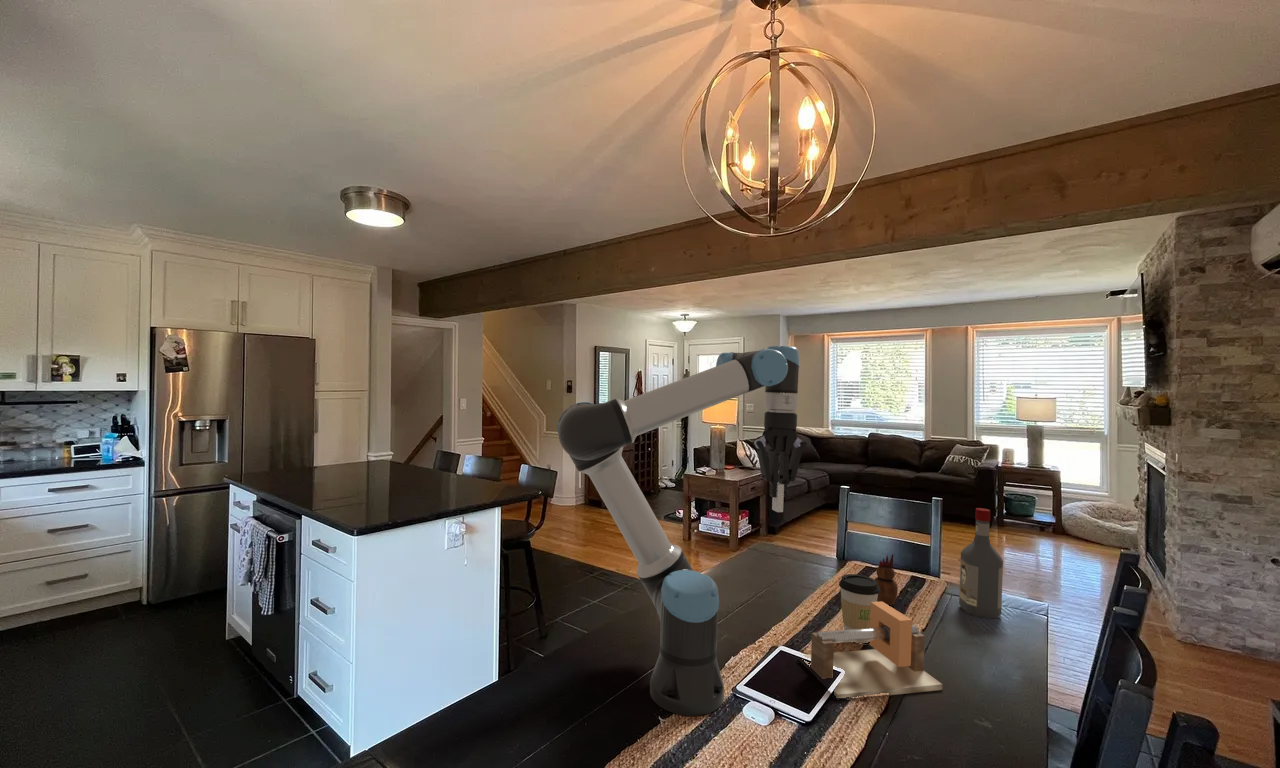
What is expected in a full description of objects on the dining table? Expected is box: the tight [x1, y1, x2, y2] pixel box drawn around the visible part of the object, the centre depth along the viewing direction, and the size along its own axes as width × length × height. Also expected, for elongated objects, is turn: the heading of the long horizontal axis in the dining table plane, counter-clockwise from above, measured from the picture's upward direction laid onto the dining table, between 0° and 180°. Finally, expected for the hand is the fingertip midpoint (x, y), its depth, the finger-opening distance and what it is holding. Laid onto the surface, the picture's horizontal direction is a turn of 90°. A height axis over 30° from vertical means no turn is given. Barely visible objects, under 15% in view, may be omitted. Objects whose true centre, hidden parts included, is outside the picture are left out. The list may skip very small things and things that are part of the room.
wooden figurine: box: [873, 554, 899, 606], centre depth 161 cm, size 7×6×15 cm
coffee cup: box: [838, 573, 880, 643], centre depth 137 cm, size 10×10×15 cm
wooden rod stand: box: [802, 631, 943, 698], centre depth 120 cm, size 25×16×9 cm, turn 102°
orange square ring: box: [868, 601, 913, 667], centre depth 121 cm, size 3×10×10 cm, turn 12°
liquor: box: [958, 507, 1004, 620], centre depth 157 cm, size 9×9×30 cm
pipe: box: [816, 624, 920, 644], centre depth 120 cm, size 24×3×3 cm, turn 102°
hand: (777, 510), depth 127 cm, fingers closed
